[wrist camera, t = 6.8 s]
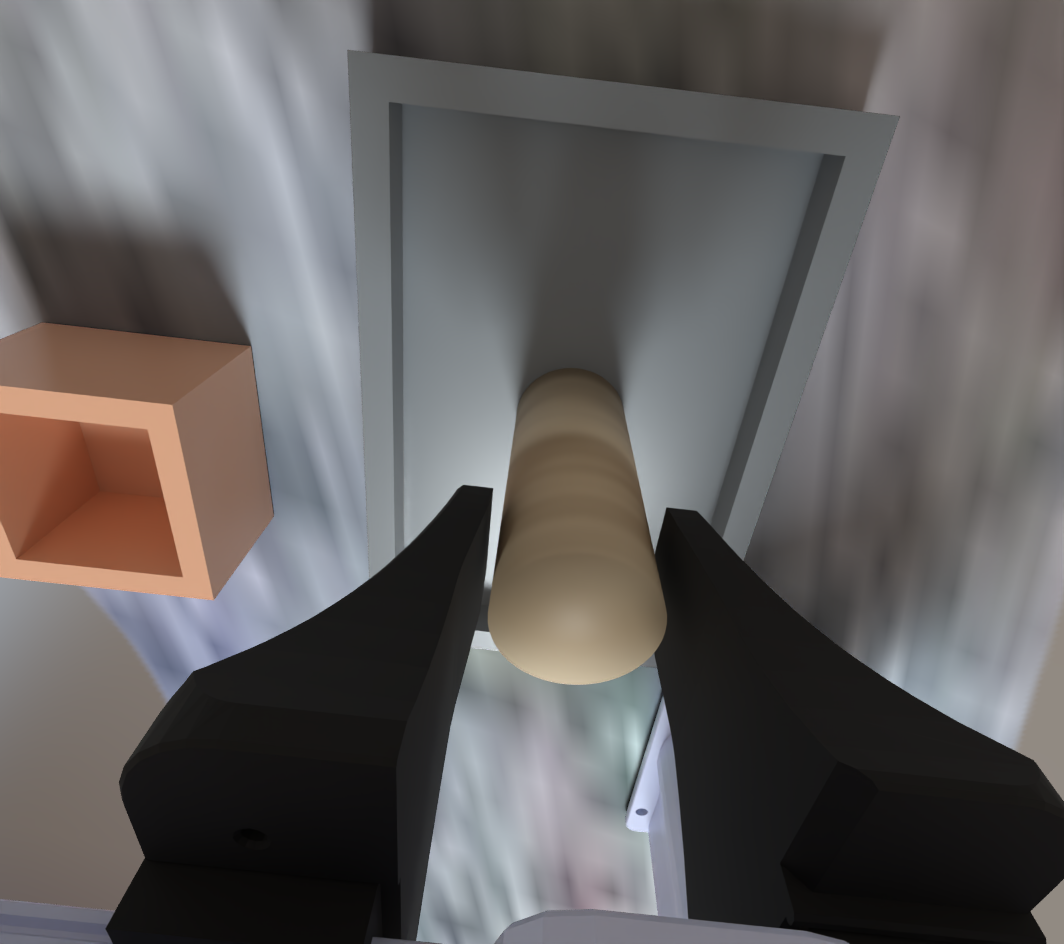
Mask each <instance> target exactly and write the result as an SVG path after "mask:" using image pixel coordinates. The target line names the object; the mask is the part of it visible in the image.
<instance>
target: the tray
mask: <svg viewBox="0 0 1064 944" xmlns="http://www.w3.org/2000/svg"><path fill="white" fill-rule="evenodd" d="M347 51H348V75H349V100H350V124H351V148H352V172H353V197H354V221H355V245H356V270H357V294H358V318H359V342H360V367H361V391H362V415H363V440H364V464H365V488H366V512H367V537H368V561H369V579H370V578H371V577H373V576H374V575H375V574H376V573H378V572H379V571H380V570H381V569H383V568H384V567H385V566H386V565H387V564H388V563H390V562H391V561H392V560H393V559H394V558H395V557H396V556H397V555H398V554H399V553H400V552H401V551H403V550H404V549H405V548H406V547H407V546H408V545H409V544H410V543H411V542H412V541H413V540H414V539H415V538H416V537H417V536H418V535H419V534H420V533H421V532H422V531H423V530H424V529H425V528H426V526H427V525H428V524H429V523H430V522H431V521H432V520H433V519H434V518H435V517H436V516H437V514H438V513H439V512H440V511H441V510H442V508H443V507H444V506H445V505H446V504H447V502H448V501H449V500H450V498H451V497H452V496H453V494H454V493H455V491H456V490H457V489H458V488H459V487H461V486H462V485H470V486H479V487H488V488H493V498H492V510H491V522H490V534H489V546H488V558H487V569H486V576H485V583H484V590H483V596H482V603H481V610H480V614H479V618H478V622H477V625H476V629H475V633H474V637H473V640H472V644H471V648H477V649H486V650H495V651H499V650H498V648H497V647H496V645H495V643H494V642H493V640H492V637H491V634H490V632H489V627H488V609H489V602H490V595H491V588H492V581H493V574H494V567H495V560H496V553H497V546H498V539H499V533H500V526H501V519H502V512H503V505H504V498H505V491H506V484H507V477H508V470H509V463H510V456H511V449H512V442H513V435H514V428H515V421H516V414H517V408H518V404H519V401H520V399H521V397H522V395H523V393H524V392H525V390H526V389H527V388H528V387H529V385H530V384H531V383H533V382H534V381H535V380H536V379H537V378H539V377H541V376H542V375H544V374H546V373H548V372H551V371H554V370H558V369H563V368H578V369H584V370H588V371H591V372H593V373H595V374H598V375H599V376H601V377H603V378H604V379H605V380H607V381H608V382H609V383H610V384H611V385H612V386H613V387H614V389H615V390H616V391H617V393H618V395H619V397H620V399H621V401H622V405H623V409H624V413H625V418H626V423H627V427H628V432H629V437H630V442H631V446H632V451H633V456H634V460H635V465H636V470H637V474H638V479H639V484H640V488H641V493H642V498H643V503H644V507H645V512H646V517H647V521H648V526H649V531H650V535H651V540H652V545H653V549H654V554H655V550H656V546H657V542H658V538H659V534H660V530H661V527H662V523H663V519H664V515H665V511H666V507H668V508H677V509H686V510H695V511H698V512H699V513H700V514H701V515H702V517H703V518H704V519H705V520H706V521H707V522H708V523H709V524H710V525H711V526H712V527H713V528H714V530H715V531H716V532H717V533H718V534H719V535H720V536H721V537H722V538H723V540H724V541H725V542H726V543H727V544H728V545H729V546H730V547H731V548H732V549H733V550H734V552H735V553H736V554H737V555H738V556H739V557H740V558H741V559H742V560H743V561H744V558H745V555H746V552H747V549H748V546H749V544H750V541H751V538H752V535H753V532H754V529H755V527H756V524H757V521H758V518H759V515H760V512H761V510H762V507H763V504H764V501H765V498H766V495H767V493H768V490H769V487H770V484H771V481H772V478H773V476H774V473H775V470H776V467H777V464H778V461H779V458H780V456H781V453H782V450H783V447H784V444H785V441H786V439H787V436H788V433H789V430H790V427H791V424H792V422H793V419H794V416H795V413H796V410H797V407H798V405H799V402H800V399H801V396H802V393H803V390H804V387H805V385H806V382H807V379H808V376H809V373H810V370H811V368H812V365H813V362H814V359H815V356H816V353H817V351H818V348H819V345H820V342H821V339H822V336H823V334H824V331H825V328H826V325H827V322H828V319H829V317H830V314H831V311H832V308H833V305H834V302H835V299H836V297H837V294H838V291H839V288H840V285H841V282H842V280H843V277H844V274H845V271H846V268H847V265H848V263H849V260H850V257H851V254H852V251H853V248H854V246H855V243H856V240H857V237H858V234H859V231H860V228H861V226H862V223H863V220H864V217H865V214H866V211H867V209H868V206H869V203H870V200H871V197H872V194H873V192H874V189H875V186H876V183H877V180H878V177H879V175H880V172H881V169H882V166H883V163H884V160H885V158H886V155H887V152H888V149H889V146H890V143H891V140H892V138H893V135H894V132H895V129H896V126H897V123H898V121H899V118H900V116H895V115H886V114H878V113H870V112H861V111H853V110H845V109H836V108H828V107H820V106H811V105H803V104H795V103H786V102H778V101H770V100H761V99H753V98H745V97H736V96H728V95H720V94H711V93H703V92H695V91H686V90H678V89H670V88H661V87H653V86H645V85H636V84H628V83H620V82H611V81H603V80H595V79H586V78H578V77H570V76H561V75H553V74H545V73H536V72H528V71H520V70H511V69H503V68H495V67H486V66H478V65H470V64H461V63H453V62H445V61H436V60H428V59H420V58H411V57H403V56H395V55H386V54H378V53H370V52H361V51H353V50H347ZM640 666H644V667H653V668H657V664H656V660H655V655H654V653H653V655H652V656H651V657H650V658H649V659H648V660H647V661H645V662H644V663H643V664H642V665H640Z"/></svg>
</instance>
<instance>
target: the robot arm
mask: <svg viewBox="0 0 1064 944" xmlns="http://www.w3.org/2000/svg"><path fill="white" fill-rule="evenodd" d="M492 498H493V488H488V487H479V486H470V485H462V486H461V487H459V488H458V489H457V490H456V491H455V493H454V494H453V496H452V497H451V498H450V500H449V501H448V502H447V504H446V505H445V506H444V507H443V508H442V510H441V511H440V512H439V513H438V514H437V516H436V517H435V518H434V519H433V520H432V521H431V522H430V523H429V524H428V525H427V526H426V528H425V529H424V530H423V531H422V532H421V533H420V534H419V535H418V536H417V537H416V538H415V539H414V540H413V541H412V542H411V543H410V544H409V545H408V546H407V547H406V548H405V549H404V550H403V551H401V552H400V553H399V554H398V555H397V556H396V557H395V558H394V559H393V560H392V561H391V562H390V563H388V564H387V565H386V566H385V567H384V568H383V569H381V570H380V571H379V572H378V573H376V574H375V575H374V576H373V577H371V578H370V579H369V580H368V581H366V582H365V583H364V584H362V585H361V586H360V587H358V588H357V589H356V590H354V591H353V592H351V593H350V594H348V595H347V596H345V597H344V598H342V599H341V600H339V601H338V602H336V603H335V604H333V605H332V606H330V607H328V608H327V609H325V610H324V611H322V612H320V613H319V614H317V615H316V616H314V617H312V618H310V619H309V620H307V621H305V622H303V623H301V624H299V625H297V626H296V627H294V628H292V629H290V630H288V631H286V632H284V633H282V634H280V635H278V636H276V637H274V638H272V639H270V640H268V641H266V642H263V643H261V644H259V645H257V646H255V647H253V648H250V649H248V650H245V651H243V652H241V653H238V654H236V655H233V656H231V657H228V658H226V659H224V660H221V661H219V662H216V663H214V664H211V665H209V666H207V667H204V668H201V669H198V670H196V671H193V672H192V673H191V675H190V676H189V677H188V679H187V680H186V681H185V683H184V684H183V685H182V686H181V687H180V688H179V689H178V691H177V692H176V693H175V694H174V695H173V696H172V698H171V699H170V700H169V702H168V703H167V704H166V706H165V707H164V708H163V709H162V711H161V712H160V713H159V715H158V717H157V718H156V719H155V721H154V722H153V724H152V726H151V727H150V728H149V730H148V731H147V733H146V734H145V736H144V737H143V739H142V740H141V742H140V743H139V745H138V746H137V748H136V749H135V751H134V752H133V754H132V755H131V757H130V758H129V760H128V761H127V763H126V764H125V766H124V768H123V771H122V774H121V778H120V781H119V785H120V791H121V796H122V801H123V803H124V806H125V808H126V811H127V814H128V816H129V819H130V821H131V823H132V826H133V829H134V831H135V833H136V836H137V839H138V841H139V844H140V846H141V848H142V851H143V854H144V856H145V859H144V861H143V862H142V864H141V866H140V868H139V870H138V872H137V873H136V875H135V877H134V878H133V880H132V882H131V884H130V886H129V887H128V889H127V891H126V893H125V894H124V896H123V898H122V900H121V902H120V904H119V905H118V907H117V909H116V910H115V911H114V910H103V909H94V908H84V907H74V906H64V905H55V904H45V903H35V902H24V901H14V900H5V899H0V944H440V943H430V942H420V941H416V938H417V931H418V925H419V918H420V912H421V905H422V898H423V892H424V886H425V879H426V873H427V867H428V860H429V854H430V847H431V841H432V835H433V828H434V822H435V816H436V810H437V804H438V798H439V791H440V785H441V779H442V773H443V767H444V761H445V755H446V749H447V743H448V737H449V731H450V726H451V721H452V717H453V712H454V708H455V704H456V700H457V696H458V693H459V689H460V685H461V681H462V678H463V674H464V670H465V667H466V663H467V659H468V655H469V652H470V648H471V644H472V640H473V637H474V633H475V629H476V625H477V622H478V618H479V614H480V610H481V603H482V596H483V590H484V583H485V576H486V569H487V558H488V546H489V534H490V522H491V510H492ZM655 559H656V564H657V568H658V573H659V578H660V582H661V587H662V592H663V596H664V601H665V606H666V612H667V625H666V630H665V634H664V636H663V639H662V641H661V643H660V645H659V646H658V648H657V650H656V651H655V652H654V655H655V660H656V664H657V669H658V674H659V678H660V683H661V688H662V692H663V697H662V700H661V703H660V707H659V710H658V713H657V716H656V719H655V723H654V726H653V729H652V732H651V735H650V739H649V742H648V745H647V748H646V751H645V755H644V758H643V761H642V764H641V768H640V771H639V774H638V777H637V780H636V784H635V787H634V790H633V793H632V796H631V800H630V803H629V806H628V809H627V812H626V816H625V820H626V826H627V827H628V828H629V829H630V830H633V831H640V832H648V833H649V842H650V851H651V859H652V868H653V876H654V885H655V893H656V902H657V910H658V916H655V915H645V914H635V913H625V912H615V911H606V910H596V909H583V910H550V911H545V912H542V913H539V914H536V915H534V916H531V917H528V918H525V919H522V920H520V921H517V922H514V923H512V924H511V925H510V926H509V927H508V928H507V929H505V930H504V931H503V933H502V934H501V935H500V937H499V938H498V939H497V941H496V942H495V943H494V944H1046V938H1045V936H1044V934H1043V932H1042V931H1041V929H1040V927H1039V926H1038V924H1037V922H1036V920H1035V919H1034V917H1033V916H1032V914H1031V912H1030V911H1031V910H1032V909H1033V908H1034V907H1035V906H1036V905H1037V904H1038V903H1039V902H1040V901H1041V900H1042V899H1044V898H1045V897H1046V896H1047V895H1048V894H1049V893H1050V892H1051V891H1052V890H1053V889H1054V888H1055V887H1056V886H1057V885H1058V884H1059V883H1060V882H1061V881H1062V880H1063V879H1064V801H1063V800H1062V799H1061V797H1060V796H1059V794H1058V793H1057V792H1056V790H1055V789H1054V787H1053V786H1052V785H1051V783H1050V782H1049V780H1048V779H1047V778H1046V776H1045V775H1044V774H1043V772H1042V771H1041V769H1040V768H1039V767H1038V765H1037V764H1036V763H1035V762H1034V760H1032V759H1030V758H1028V757H1026V756H1024V755H1022V754H1020V753H1018V752H1016V751H1014V750H1012V749H1010V748H1008V747H1006V746H1004V745H1002V744H1000V743H998V742H996V741H995V740H993V739H991V738H989V737H987V736H985V735H983V734H981V733H979V732H977V731H975V730H973V729H971V728H969V727H967V726H965V725H963V724H961V723H959V722H957V721H956V720H954V719H952V718H950V717H948V716H947V715H945V714H943V713H942V712H940V711H938V710H936V709H935V708H933V707H931V706H929V705H928V704H926V703H924V702H922V701H921V700H919V699H917V698H916V697H914V696H912V695H911V694H909V693H907V692H906V691H904V690H903V689H901V688H899V687H898V686H896V685H895V684H893V683H891V682H890V681H888V680H887V679H885V678H884V677H882V676H881V675H879V674H878V673H876V672H875V671H873V670H872V669H870V668H869V667H867V666H866V665H865V664H863V663H862V662H860V661H859V660H857V659H856V658H854V657H853V656H851V655H850V654H849V653H847V652H846V651H845V650H843V649H842V648H840V647H839V646H838V645H836V644H835V643H834V642H833V641H831V640H830V639H829V638H828V637H826V636H825V635H824V634H822V633H821V632H820V631H819V630H817V629H816V628H815V627H814V626H812V625H811V624H810V623H809V622H807V621H806V620H805V619H804V618H803V617H801V616H800V615H799V614H798V613H797V612H796V611H795V610H793V609H792V608H791V607H790V606H789V605H788V604H787V603H786V602H785V601H784V600H782V599H781V598H780V597H779V596H778V595H777V594H776V593H775V592H774V591H773V590H772V589H771V588H770V587H769V586H768V585H767V584H765V583H764V582H763V581H762V580H761V579H760V578H759V577H758V576H757V575H756V574H755V573H754V572H753V571H752V569H751V568H750V567H749V566H748V565H747V564H746V563H745V562H744V561H743V560H742V559H741V558H740V557H739V556H738V555H737V554H736V553H735V552H734V550H733V549H732V548H731V547H730V546H729V545H728V544H727V543H726V542H725V541H724V540H723V538H722V537H721V536H720V535H719V534H718V533H717V532H716V531H715V530H714V528H713V527H712V526H711V525H710V524H709V523H708V522H707V521H706V520H705V519H704V518H703V517H702V515H701V514H700V513H699V512H698V511H695V510H686V509H677V508H668V507H666V511H665V515H664V519H663V523H662V527H661V530H660V534H659V538H658V542H657V546H656V550H655Z"/></svg>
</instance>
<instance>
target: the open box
mask: <svg viewBox="0 0 1064 944" xmlns="http://www.w3.org/2000/svg"><path fill="white" fill-rule="evenodd" d="M273 517H274V514H273V507H272V499H271V492H270V485H269V477H268V470H267V462H266V455H265V447H264V440H263V432H262V425H261V418H260V410H259V403H258V395H257V388H256V380H255V373H254V365H253V358H252V351H251V346H246V345H237V344H228V343H219V342H210V341H202V340H193V339H184V338H175V337H166V336H158V335H149V334H140V333H131V332H122V331H114V330H105V329H96V328H87V327H78V326H69V325H61V324H52V323H43V322H42V323H39V324H37V325H35V326H32V327H30V328H27V329H25V330H22V331H20V332H17V333H15V334H12V335H10V336H7V337H5V338H2V339H0V577H4V578H14V579H22V580H31V581H41V582H50V583H59V584H69V585H78V586H87V587H96V588H105V589H115V590H124V591H133V592H142V593H152V594H161V595H170V596H179V597H189V598H198V599H207V600H214V599H215V598H216V596H217V595H218V594H219V592H220V591H221V589H222V588H223V587H224V585H225V584H226V582H227V581H228V580H229V578H230V577H231V575H232V574H233V573H234V571H235V570H236V568H237V567H238V566H239V564H240V563H241V562H242V560H243V559H244V557H245V556H246V555H247V553H248V552H249V550H250V549H251V548H252V546H253V545H254V543H255V542H256V541H257V539H258V538H259V536H260V535H261V534H262V532H263V531H264V529H265V528H266V527H267V525H268V524H269V522H270V521H271V520H272V518H273Z"/></svg>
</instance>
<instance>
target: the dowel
mask: <svg viewBox="0 0 1064 944" xmlns="http://www.w3.org/2000/svg"><path fill="white" fill-rule="evenodd" d="M666 625H667V612H666V606H665V601H664V596H663V592H662V587H661V582H660V578H659V573H658V568H657V564H656V559H655V554H654V549H653V545H652V540H651V535H650V531H649V526H648V521H647V517H646V512H645V507H644V503H643V498H642V493H641V488H640V484H639V479H638V474H637V470H636V465H635V460H634V456H633V451H632V446H631V442H630V437H629V432H628V427H627V423H626V418H625V413H624V409H623V405H622V401H621V399H620V397H619V395H618V393H617V391H616V390H615V389H614V387H613V386H612V385H611V384H610V383H609V382H608V381H607V380H605V379H604V378H603V377H601V376H599V375H598V374H595V373H593V372H591V371H588V370H584V369H578V368H563V369H558V370H554V371H551V372H548V373H546V374H544V375H542V376H541V377H539V378H537V379H536V380H535V381H534V382H533V383H531V384H530V385H529V387H528V388H527V389H526V390H525V392H524V393H523V395H522V397H521V399H520V401H519V404H518V408H517V414H516V421H515V428H514V435H513V442H512V449H511V456H510V463H509V470H508V477H507V484H506V491H505V498H504V505H503V512H502V519H501V526H500V533H499V539H498V546H497V553H496V560H495V567H494V574H493V581H492V588H491V595H490V602H489V609H488V627H489V632H490V634H491V637H492V640H493V642H494V643H495V645H496V647H497V648H498V650H499V651H500V652H501V654H502V655H503V656H504V657H505V658H506V659H507V660H508V661H509V662H511V663H512V664H513V665H514V666H516V667H517V668H519V669H521V670H522V671H524V672H526V673H528V674H530V675H532V676H534V677H537V678H540V679H543V680H546V681H550V682H555V683H561V684H573V685H582V684H594V683H600V682H604V681H609V680H612V679H615V678H618V677H620V676H623V675H625V674H627V673H629V672H631V671H633V670H634V669H636V668H638V667H639V666H640V665H642V664H643V663H644V662H645V661H647V660H648V659H649V658H650V657H651V656H652V655H653V653H654V652H655V651H656V650H657V648H658V646H659V645H660V643H661V641H662V639H663V636H664V634H665V630H666Z"/></svg>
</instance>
